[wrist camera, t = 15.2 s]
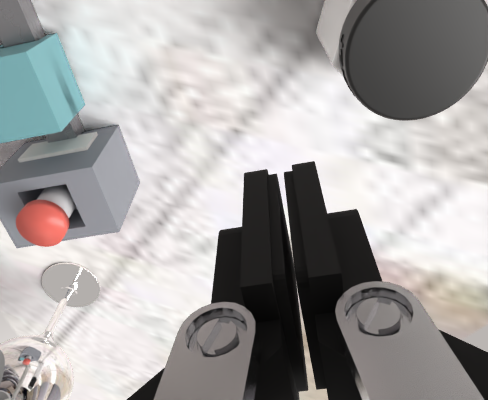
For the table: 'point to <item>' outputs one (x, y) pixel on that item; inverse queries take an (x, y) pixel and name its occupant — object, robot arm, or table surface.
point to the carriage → (36, 90)
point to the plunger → (46, 216)
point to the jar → (406, 51)
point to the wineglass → (46, 341)
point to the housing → (72, 181)
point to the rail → (24, 31)
